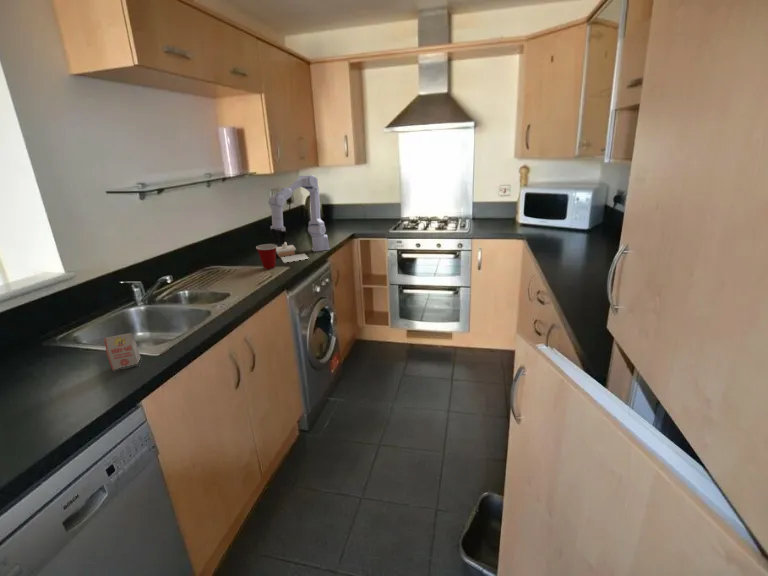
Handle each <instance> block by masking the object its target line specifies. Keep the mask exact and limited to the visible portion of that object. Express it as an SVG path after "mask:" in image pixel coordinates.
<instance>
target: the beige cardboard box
mask: <svg viewBox="0 0 768 576" xmlns="http://www.w3.org/2000/svg"><path fill="white" fill-rule="evenodd" d="M103 340H104V341H103V342H104V345H105V352H106V356H107V360H108V362H109V365H110V367H111V371H112V370H114V369H118V368H121V367H125V366H130V365H134V364H138V362H139V360H140V358H141V359H142V357H141V355H140V351H139V348H138V345H137V342H136V340H135V338H134V336H133V334H132V333H131V332H129V333H124V334H118V335H114V336H113V335H112V336H108V337H104V339H103Z"/></svg>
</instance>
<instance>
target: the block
mask: <svg viewBox="0 0 768 576" xmlns="http://www.w3.org/2000/svg"><path fill="white" fill-rule="evenodd" d="M276 255H277V256H278V257H279V258H281V257H284V256H290V255H296V253H295V250H294V251H287V252H280V253H277V252H276Z"/></svg>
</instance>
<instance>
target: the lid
mask: <svg viewBox="0 0 768 576" xmlns="http://www.w3.org/2000/svg"><path fill="white" fill-rule="evenodd" d="M287 251H294V252H295V251H297V248H296V247H295V245H293V244H290V245H288V244H287V241H284V244H281V246H277V248H276V254H277V253H280V252H287Z"/></svg>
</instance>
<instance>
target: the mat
mask: <svg viewBox="0 0 768 576" xmlns="http://www.w3.org/2000/svg"><path fill="white" fill-rule="evenodd" d="M308 258H309V257H308V255H306V253H304V252H303V253H299V254H295V255H291V256H285V257H280V260H281V261H282V263H283V264H288V263H287V262H289V263H294V262H293V261H295V262H300V261H299V260H301V261H306V260H305V259H308ZM308 260H309V259H308Z"/></svg>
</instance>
